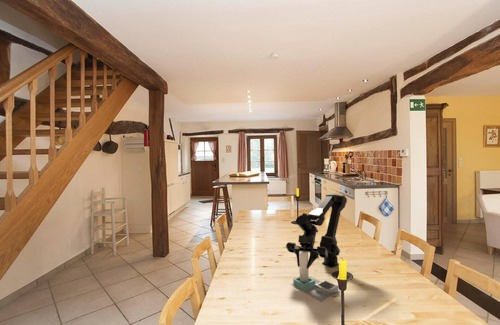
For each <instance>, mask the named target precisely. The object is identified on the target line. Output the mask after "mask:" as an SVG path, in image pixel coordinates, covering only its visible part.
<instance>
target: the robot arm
mask: <svg viewBox="0 0 500 325" xmlns="http://www.w3.org/2000/svg"><path fill="white" fill-rule="evenodd" d="M347 203H348V198H347V197H346V196H345V195H343V194H334V193H327V194H326V195H325V198H323V200H321V202H320V204H319V205H318V207H317V208H315V209H313V210H311V212H309V213H305V212H303V213H302V214H300V215H298V217H296V220H295V223H296V224H297V226H298V227H299V228H300V229H301V230H302V231H303V234H302V235H300V234H298V241H297V242H298V243H299V245H297V244H296V242H290V241H288V242H287V243H286V245H285V248H286V249H287V251H288V252H289V253H292V254H295V256H296V261H297V262H296V263H297V267H298V268H299V252H300V251H307V252H308V253H309V256H308V265H307V269H308V270H309V269H310V267H311V266H312V264H313V263H314V262H315V261H316V260H317V259H319V258H323V262H322V265H324V266H327V267H328V268H334V267H336V266H339V265H340V263H339V262H338V256H340V253H341V249H340V248H339V246H338V241H337V238H336V234H337V232H338V231H337V230H338V225H339V220H340V216H341V212H342V210H343V209H344V208H346V205H347ZM330 208H331V211H330V214H329V220H328V224H327V229H326V233H325V234H324V235H322V236H321V237H320V238H321V239H320V242H319V245H317V247H316V248H314V246H315V244H316V240H315V239H316V236H317V233H319V230H318V228H317V227H318V226H319V227H322V225H323V224H324V222H325V220H326V217H325V216H326V214H327V212H328V211H329V210H330Z"/></svg>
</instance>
